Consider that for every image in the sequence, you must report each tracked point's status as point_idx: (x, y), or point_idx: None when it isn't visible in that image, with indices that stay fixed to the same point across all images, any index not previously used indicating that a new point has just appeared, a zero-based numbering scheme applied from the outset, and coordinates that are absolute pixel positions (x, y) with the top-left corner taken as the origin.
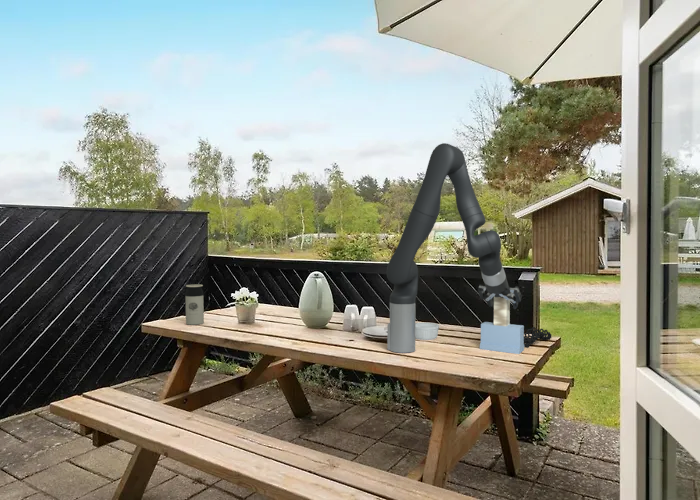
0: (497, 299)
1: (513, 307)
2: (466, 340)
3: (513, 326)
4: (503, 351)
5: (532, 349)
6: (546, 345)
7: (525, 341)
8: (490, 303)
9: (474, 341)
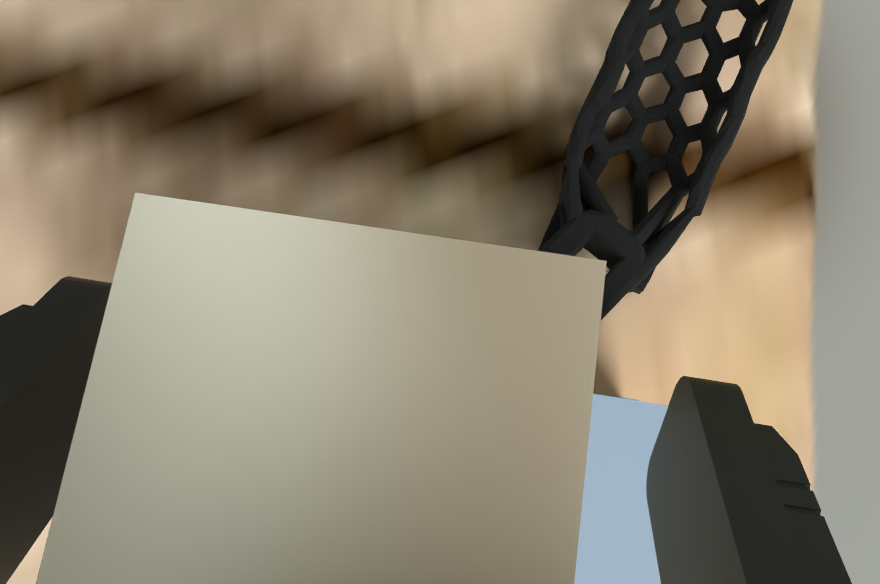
0: None
1: (657, 532)
2: (10, 193)
3: (580, 554)
4: None
5: (696, 345)
6: (794, 119)
7: (638, 282)
8: (53, 509)
9: (96, 208)
